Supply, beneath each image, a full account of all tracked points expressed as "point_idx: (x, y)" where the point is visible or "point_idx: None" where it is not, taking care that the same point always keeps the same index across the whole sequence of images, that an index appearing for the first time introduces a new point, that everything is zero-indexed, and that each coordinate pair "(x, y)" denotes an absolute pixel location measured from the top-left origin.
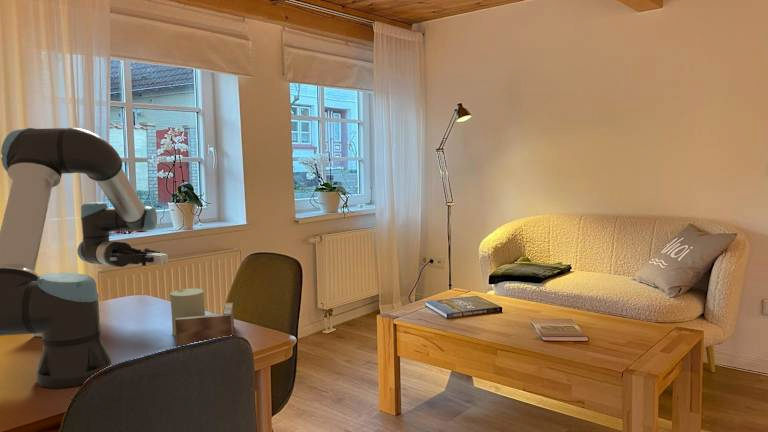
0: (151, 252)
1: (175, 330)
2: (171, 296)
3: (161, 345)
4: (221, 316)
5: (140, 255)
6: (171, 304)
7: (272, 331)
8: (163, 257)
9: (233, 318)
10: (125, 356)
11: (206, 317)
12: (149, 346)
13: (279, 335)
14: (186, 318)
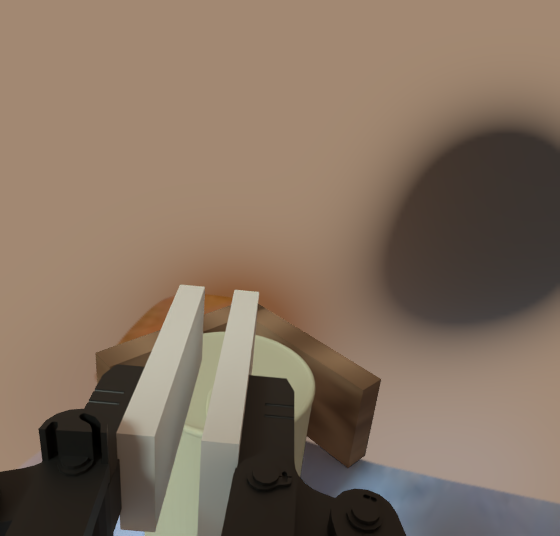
0: (41, 517)
1: None
2: (311, 404)
3: (396, 502)
4: (268, 311)
5: (294, 510)
6: (301, 447)
7: (128, 333)
8: (198, 328)
9: None
10: (545, 523)
11: (300, 331)
12: (434, 532)
13: (157, 313)
14: (347, 362)
